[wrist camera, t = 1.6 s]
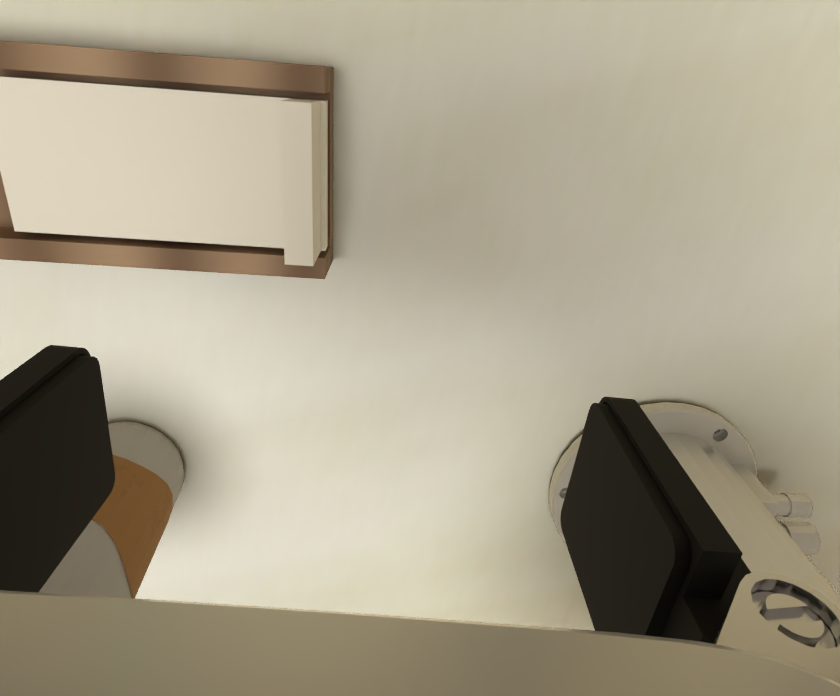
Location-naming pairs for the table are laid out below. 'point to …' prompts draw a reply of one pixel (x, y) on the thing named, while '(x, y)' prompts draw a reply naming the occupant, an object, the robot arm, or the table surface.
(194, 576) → the table surface
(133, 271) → the table surface
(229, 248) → the board
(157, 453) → the coffee cup
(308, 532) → the table surface
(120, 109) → the lid
